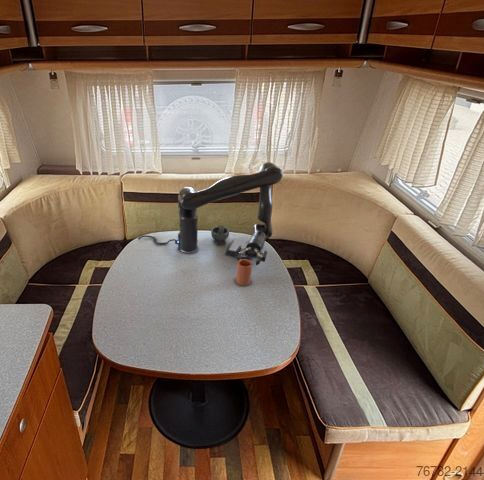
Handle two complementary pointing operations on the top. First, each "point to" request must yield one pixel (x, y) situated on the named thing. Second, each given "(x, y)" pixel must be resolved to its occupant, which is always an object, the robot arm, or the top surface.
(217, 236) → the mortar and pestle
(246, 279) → the cup
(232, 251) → the scale
